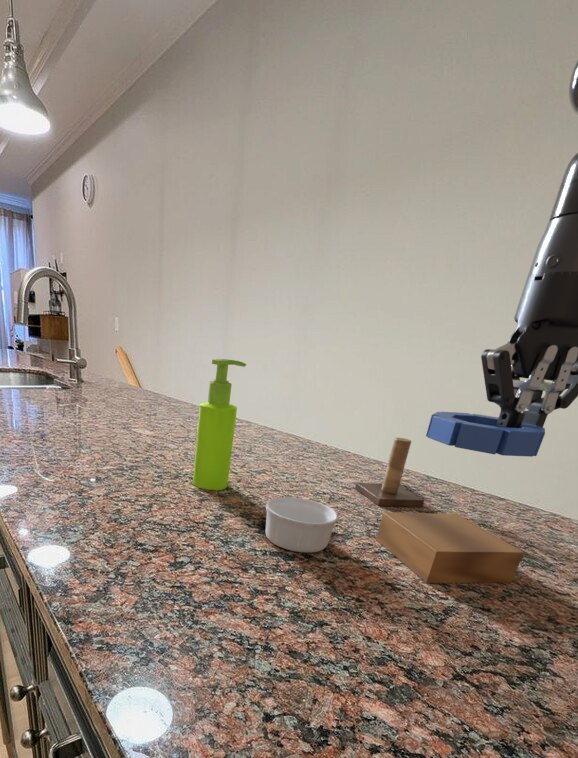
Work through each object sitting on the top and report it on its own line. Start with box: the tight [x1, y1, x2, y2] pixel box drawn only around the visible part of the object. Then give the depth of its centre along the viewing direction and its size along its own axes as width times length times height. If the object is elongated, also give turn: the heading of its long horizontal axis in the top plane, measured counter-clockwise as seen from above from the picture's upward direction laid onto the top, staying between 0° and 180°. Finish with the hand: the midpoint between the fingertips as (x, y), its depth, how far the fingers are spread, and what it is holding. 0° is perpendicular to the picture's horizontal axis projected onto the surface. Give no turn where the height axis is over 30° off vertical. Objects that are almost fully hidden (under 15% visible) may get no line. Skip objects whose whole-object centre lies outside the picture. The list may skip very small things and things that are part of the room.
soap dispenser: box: [192, 358, 247, 491], centre depth 72 cm, size 6×7×20 cm
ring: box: [425, 411, 546, 458], centre depth 50 cm, size 11×11×2 cm
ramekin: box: [264, 496, 339, 554], centre depth 57 cm, size 9×9×4 cm
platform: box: [375, 511, 525, 584], centre depth 55 cm, size 11×11×4 cm
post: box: [354, 437, 425, 508], centre depth 75 cm, size 8×8×10 cm
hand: (512, 443), depth 51 cm, fingers closed on ring, 2 cm apart
